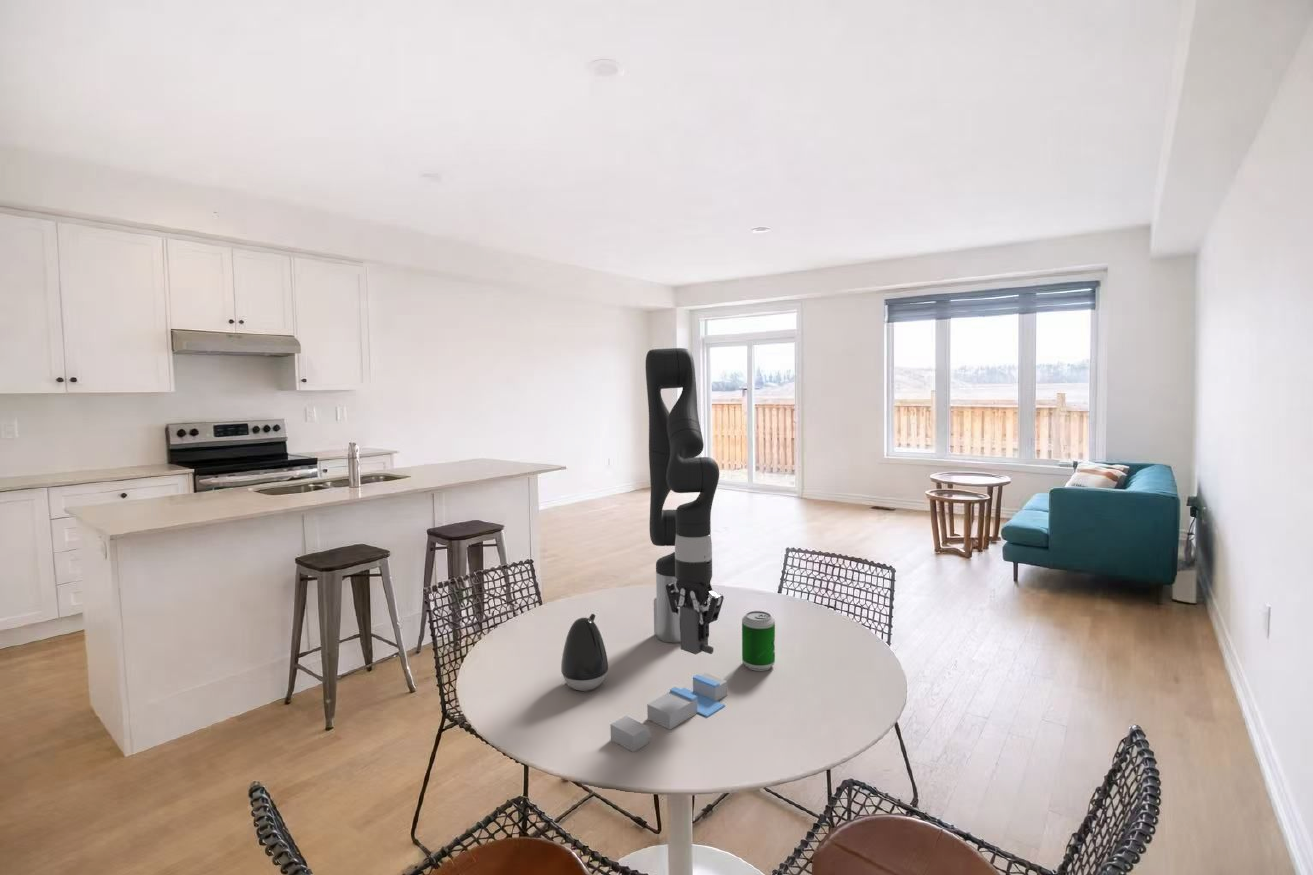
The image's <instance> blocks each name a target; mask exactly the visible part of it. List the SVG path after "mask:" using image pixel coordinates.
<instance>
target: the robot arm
mask: <svg viewBox="0 0 1313 875" xmlns="http://www.w3.org/2000/svg"><path fill="white" fill-rule="evenodd" d="M645 380H646V392H647V393H646V394H647V404H648V407H647V408H648V461H649V462H648V464H649V477H650V478H649V479H650V480H649V481H650V502H649V505H650V506H649V537H650V541H651V544H652V545H654V546H657V547H674V551H673V552H672V553H669V554H667V555H665V556H662V557H659V558H658V559H657V561H656V562H655V585H656V588H655V589H656V590H655V591H656V597H655V598H654V599H653V635H655V636H657V637H656V638H658V640H660V641H661V642H662V641H663V642H667V643H675V644H676V643H681V642H680V606H682V607H683V606H686V605H688V604H691V605H693V606H694V610H696V613H698V621H699V624H698V640H699V641H700V642H703V641H705V640H707V638H708V639H709V637H710V624H711V623H713V622H716V621H718V618H719V616H720V612H721V608H722V606H723V602H724V599H725V598H724V595H723V594H721V593H720V594H717V593H716V592H714V591H713V588H712V584H711V581H712V578H713V546H712V544H713V542H712V537H711V536H712V534H711V533H712V531H711V529H712V528H711V525H712V524H711V521H712V520H711V517H712V516H711V514H712V507H713V501H714V497H715V494H716V490H717V487H718V484H719V479H720V468H719V465H718V463H717V461H715V459H713V458H712V457H708V456H703V457H702V456H699V455H701V454H702V452H703V450H704V439H703V434H702V430H701V429H702V428H701V424H700V420H699V412H698V394H697V393H698V392H697V391H698V390H697V381H696V380H697V379H696V368H695V362H694V357H693V354H692V352H691V351H690V350H689V349H688V348H684V347H683V348H682V347H681V348H680V347H674V348H673V347H672V348H655V349H650V350H649V351H648V352H647V353H646V357H645ZM680 388H682V389H681V390H682V391H681V394H680V395H679V397H678V399H677V400H676V402H675V403H674V404H673V407H672V409H671V410H670V411H669V409H668V408H667V406H666V404H665V402H664V399H663V397H662V393H661V392H662V390H663V389H664V390H665V389H680ZM698 456H699V457H698ZM671 491H672V492H674V493H676V494H690V493H692V494H693V493H694V494H695V493H699V494H698V496H697V497H696V499H694V500H692V501H689V502H686V503H683V504H681V505H678V506H677V508H676V509H663V508H664V505H665V501H667V500H666V499H667V497H668V496H669V493H670V492H671ZM701 605H703V606H702V607H700V606H701ZM703 612H704V616H703Z"/></svg>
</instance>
